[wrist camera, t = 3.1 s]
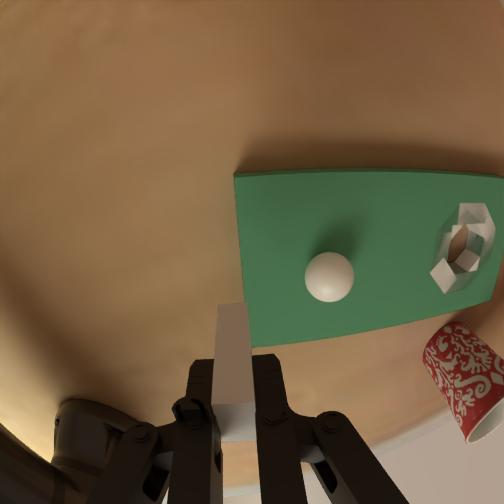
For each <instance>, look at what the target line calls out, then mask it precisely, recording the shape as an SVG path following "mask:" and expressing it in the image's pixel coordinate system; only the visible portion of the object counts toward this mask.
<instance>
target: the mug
mask: <svg viewBox="0 0 504 504" xmlns="http://www.w3.org/2000/svg"><path fill="white" fill-rule="evenodd" d="M423 362H424V364H425V366H426V368H427V370H428V371H429V373H430V374H431V376H432V378H433V379H434V381H435V383H436V384H437V386H438V388H439V390H440V391H441V393H442V395H443V396H444V398H445V400H446V402H447V404H448V405H449V407H450V409H451V411H452V413H453V415H454V417H455V419H456V420H457V423H458V424H459V426H460V428H461V430H462V432H463V434H464V436H465V442H466V443H467V444H472V443H475V442H477V441H479V440H481V439H482V438H484V437H486V436H487V435H488V434H490V433H491V432H493V431H494V430H495V429H496V428H497V427H498V426H500V425H501V424H502V423H503V422H504V360H503V359H502V358H501V357H500V356H499V355H497V354H496V353H495V352H494V351H493V350H492V349H491V348H490V347H489V346H488V345H487V344H486V343H484V342H483V341H482V340H481V339H480V338H479V337H477V336H476V335H475V334H474V333H473V332H472V331H471V330H470V329H469V328H468V327H466V326H465V325H464V324H462V323H460V322H454V323H451V324H448V325H446V326H445V327H443V328H442V329H440V330H439V331H438V332H437V333H436V334H435V335H434V336H433V337H432V338H431V340H430V341H429V343H428V344H427V346H426V348H425V350H424V354H423Z"/></svg>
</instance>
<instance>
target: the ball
mask: <svg viewBox="0 0 504 504" xmlns="http://www.w3.org/2000/svg"><path fill="white" fill-rule="evenodd" d="M353 282H354V271H353V268H352V266H351V264H350V262H349V261H348V260H347V259H346V258H345V257H344V256H342V255H340V254H338V253H335V252H325V253H321V254H319V255H317V256H316V257H314V258H313V259H312V260H311V261H310V262H309V264H308V266H307V268H306V271H305V284H306V287H307V289H308V291H309V292H310V293H311V295H313V296H314V297H315V298H316V299H318V300H320V301H324V302H335V301H338V300H340V299H342V298H343V297H345V296H346V295H347V294H348V293H349V291H350V290H351V288H352V286H353Z"/></svg>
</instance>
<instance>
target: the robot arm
mask: <svg viewBox="0 0 504 504" xmlns="http://www.w3.org/2000/svg"><path fill="white" fill-rule="evenodd" d="M187 384H188V385H187V389H186V396H185V397H183V398H181V399H179V400H177V401H176V402H175V403H174V405H173V407H172V412H173V414H174V416H175V418H176V421H174V422H173V423H170V424H167V425H163V426H159V427H155V426H154V425H152V424H150V423H148V422H136V421H135V420H133V419H132V418H130V417H128V416H127V415H125V414H123V413H121V412H119V411H117V410H115V409H112V408H110V407H108V406H105V405H102V404H99V403H95V402H91V401H86V400H68V401H65V402H64V403H62V404H61V406H60V408H59V410H58V412H57V414H56V417H55V430H54V455H53V458H52V460H51V463H49V462H48V461H46V460H45V459H43V458H42V457H41V456H39V455H38V454H37V453H35V452H34V451H33V450H32V449H30V448H29V447H28V446H26V445H25V444H24V443H23V442H22V441H20V440H19V439H18V438H17V437H16V436H14V435H13V434H12V433H11V432H10V431H9V430H8V429H6V428H5V427H4V426H3V425H2V424H1V423H0V504H162V501H163V499H164V497H165V494H166V492H167V489H168V487H169V490H168V500H167V504H223V453H222V449H221V440H222V442H239V441H255V440H257V452H258V465H259V477H260V490H261V502H262V504H308V502H307V496H306V491H305V485H304V480H303V474H302V469H301V463H300V462H307V463H310V465H311V467H312V469H313V471H314V472H315V474H316V476H317V478H318V480H319V482H320V483H321V485H322V487H323V489H324V491H325V492H326V494H327V496H328V498H329V499H330V501H331V503H332V504H409V503H408V501H407V500H406V498H405V497H404V496H403V494H402V493H401V492H400V490H399V489H398V487H397V486H396V485H395V484H394V482H393V481H392V479H391V478H390V477H389V475H388V474H387V472H386V471H385V470H384V469H383V467H382V466H381V464H380V463H379V461H378V460H377V458H376V457H375V456H374V454H373V453H372V452H371V450H370V449H369V447H368V446H367V445H366V443H365V442H364V440H363V439H362V438H361V436H360V435H359V433H358V432H357V430H356V429H355V428H354V426H353V425H352V423H351V422H350V421H349V419H348V418H347V417H346V416H345V415H344V414H342V413H340V412H337V411H327V412H323V413H321V414H320V415H318V416H317V417H307V416H302V415H299V414H297V413H295V412H294V411H292V410H291V409H290V407H289V405H288V402H287V397H286V391H285V386H284V381H283V375H282V371H281V365H280V361H279V359H278V358H277V357H276V356H275V355H274V354H265V355H254V356H252V350H251V338H250V327H249V317H248V306H247V303H236V304H223V305H218V315H217V327H216V340H215V354H214V359H201V360H195V361H194V363H193V364H192V365H191V367H190V370H189V378H188V383H187Z"/></svg>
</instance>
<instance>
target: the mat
mask: <svg viewBox="0 0 504 504" xmlns="http://www.w3.org/2000/svg"><path fill="white" fill-rule="evenodd" d="M234 186H235V197H236V209H237V220H238V232H239V243H240V254H241V265H242V275H243V286H244V297H245V303H247V306H248V317H249V327H250V338H251V348H255V347H265V346H274V345H283V344H291V343H299V342H306V341H313V340H320V339H327V338H333V337H339V336H345V335H351V334H356V333H362V332H367V331H372V330H377V329H382V328H387V327H392V326H396V325H401V324H405V323H410V322H414V321H418V320H422V319H427V318H431V317H434V316H438V315H442V314H446V313H450V312H453V311H457V310H460V309H464V308H467V307H471V306H474V305H477V304H481V303H484V302H487V301H490V300H491V298H492V294H493V291H494V288H495V284H496V280H497V277H498V273H499V269H500V265H501V261H502V256H503V252H504V177H502V176H499V175H492V174H482V173H472V172H460V171H446V170H429V169H406V168H318V169H293V170H274V171H259V172H246V173H234ZM464 224H466V226H467V228H468V236H467V242H466V247H465V249H464V250H463V252H462V253H461V254H460V255H459V257H458V258H457V259H456V260H455V262H451V263H447V259H448V253H449V247H450V241H451V240H452V238H453V237H454V236H455V235H456V233H457V232H458V231H459V230H460V228H461V227H462V226H463V225H464ZM325 252H335V253H338V254H340V255H342V256H344V257H345V258H346V259H347V260H348V261H349V262H350V264H351V266H352V268H353V271H354V282H353V286H352V288H351V290H350V291H349V293H348V294H347V295H346V296H345V297H343V298H342V299H340V300H338V301H335V302H324V301H320V300H318V299H316V298H315V297H314V296H313V295H311V293H310V292H309V291H308V289H307V287H306V284H305V271H306V268H307V266H308V264H309V262H310V261H311V260H312V259H313V258H314V257H316V256H317V255H319V254H321V253H325Z"/></svg>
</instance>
